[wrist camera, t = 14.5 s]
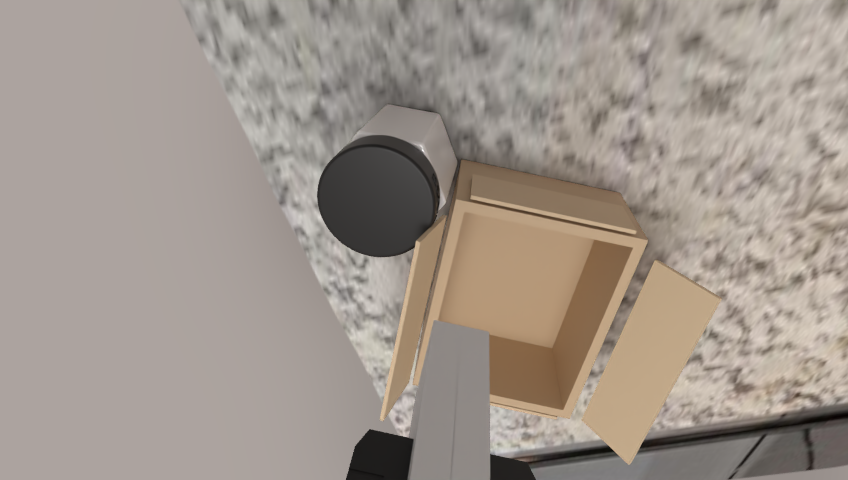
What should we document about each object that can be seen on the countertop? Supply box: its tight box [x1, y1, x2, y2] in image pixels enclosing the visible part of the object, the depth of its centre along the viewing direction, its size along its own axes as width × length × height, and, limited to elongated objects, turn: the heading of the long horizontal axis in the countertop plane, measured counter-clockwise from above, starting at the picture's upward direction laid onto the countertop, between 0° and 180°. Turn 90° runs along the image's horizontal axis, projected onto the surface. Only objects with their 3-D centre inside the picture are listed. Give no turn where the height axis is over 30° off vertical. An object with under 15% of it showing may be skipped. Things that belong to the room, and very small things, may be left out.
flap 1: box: [380, 215, 447, 421], centre depth 39 cm, size 16×5×1 cm
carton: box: [413, 159, 648, 419], centre depth 46 cm, size 19×14×9 cm
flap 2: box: [582, 260, 722, 464], centre depth 39 cm, size 16×5×1 cm
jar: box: [317, 104, 458, 257], centre depth 40 cm, size 9×8×12 cm
